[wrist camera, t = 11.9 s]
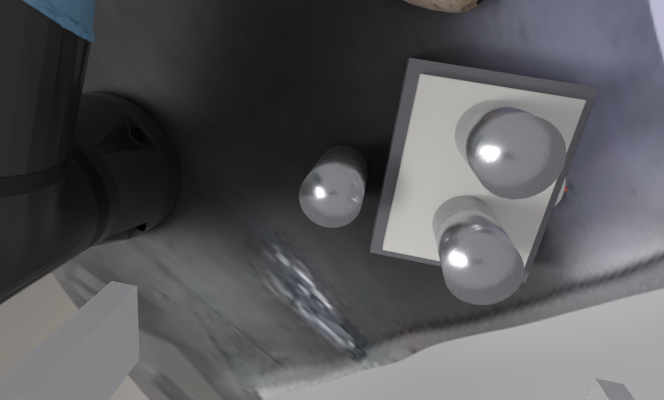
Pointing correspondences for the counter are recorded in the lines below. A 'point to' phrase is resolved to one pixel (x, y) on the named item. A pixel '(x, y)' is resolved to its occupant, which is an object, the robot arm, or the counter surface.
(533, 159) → the cylinder
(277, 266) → the counter surface
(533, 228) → the scale
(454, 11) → the filled bread boat
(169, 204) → the robot arm
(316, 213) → the cylinder
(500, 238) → the cylinder
